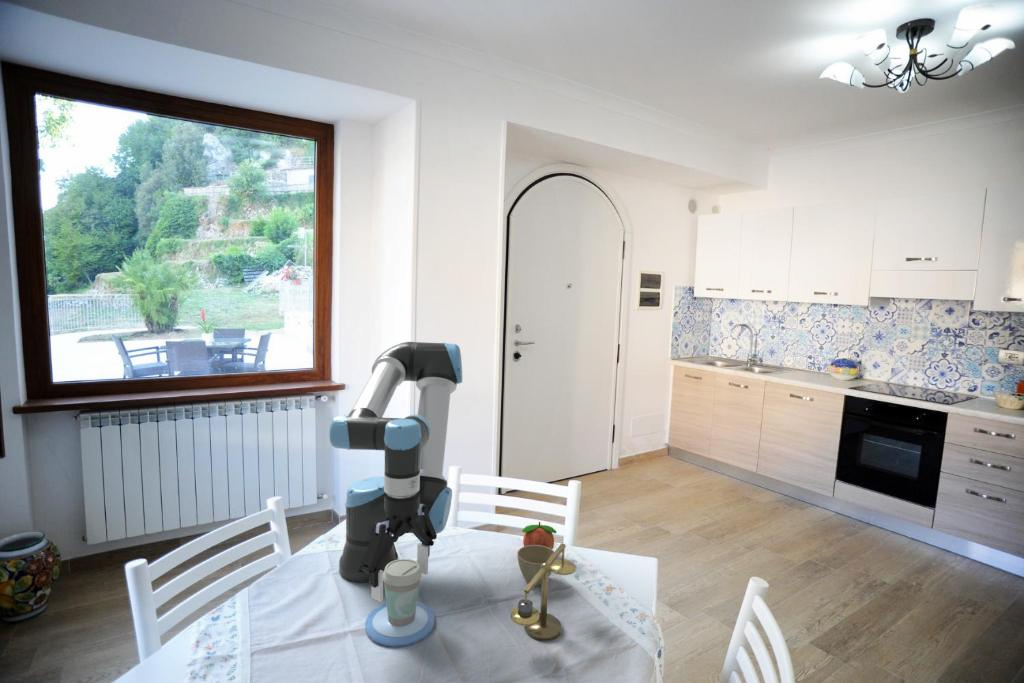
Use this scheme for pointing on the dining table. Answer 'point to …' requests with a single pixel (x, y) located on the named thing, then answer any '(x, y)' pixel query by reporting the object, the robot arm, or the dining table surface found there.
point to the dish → (399, 627)
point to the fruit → (539, 535)
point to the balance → (542, 600)
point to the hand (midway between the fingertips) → (400, 585)
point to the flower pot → (533, 560)
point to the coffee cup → (401, 590)
